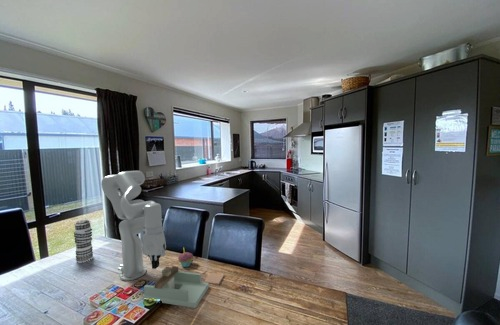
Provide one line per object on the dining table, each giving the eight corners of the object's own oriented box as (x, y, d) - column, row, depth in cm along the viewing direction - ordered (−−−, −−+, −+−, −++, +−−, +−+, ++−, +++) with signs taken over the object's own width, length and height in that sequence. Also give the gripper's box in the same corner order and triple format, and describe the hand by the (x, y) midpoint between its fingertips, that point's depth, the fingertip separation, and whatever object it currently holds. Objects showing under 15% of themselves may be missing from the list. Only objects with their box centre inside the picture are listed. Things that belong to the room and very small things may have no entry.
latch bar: (154, 288, 92) (154, 277, 92) (173, 270, 107) (172, 260, 106) (160, 288, 92) (160, 277, 92) (178, 270, 106) (178, 261, 106)
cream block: (160, 294, 98) (160, 281, 97) (166, 288, 102) (166, 276, 102) (169, 295, 97) (168, 283, 97) (174, 289, 101) (174, 277, 101)
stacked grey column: (92, 254, 139) (90, 217, 137) (94, 259, 132) (92, 220, 131) (75, 259, 132) (72, 220, 131) (75, 265, 126) (73, 224, 124)
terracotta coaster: (203, 283, 106) (203, 281, 106) (210, 274, 114) (210, 272, 114) (218, 285, 105) (218, 283, 105) (224, 275, 112) (224, 274, 112)
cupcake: (188, 269, 119) (188, 249, 118) (175, 268, 120) (174, 247, 120) (195, 261, 127) (195, 242, 127) (183, 260, 129) (182, 241, 128)
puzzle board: (142, 300, 94) (142, 286, 94) (162, 281, 108) (161, 269, 108) (195, 308, 89) (195, 293, 89) (208, 287, 103) (208, 274, 102)
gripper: (134, 231, 97) (136, 270, 98) (162, 233, 94) (164, 273, 95) (145, 226, 105) (147, 262, 105) (172, 227, 101) (174, 264, 102)
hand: (155, 267), depth 100 cm, fingers closed
